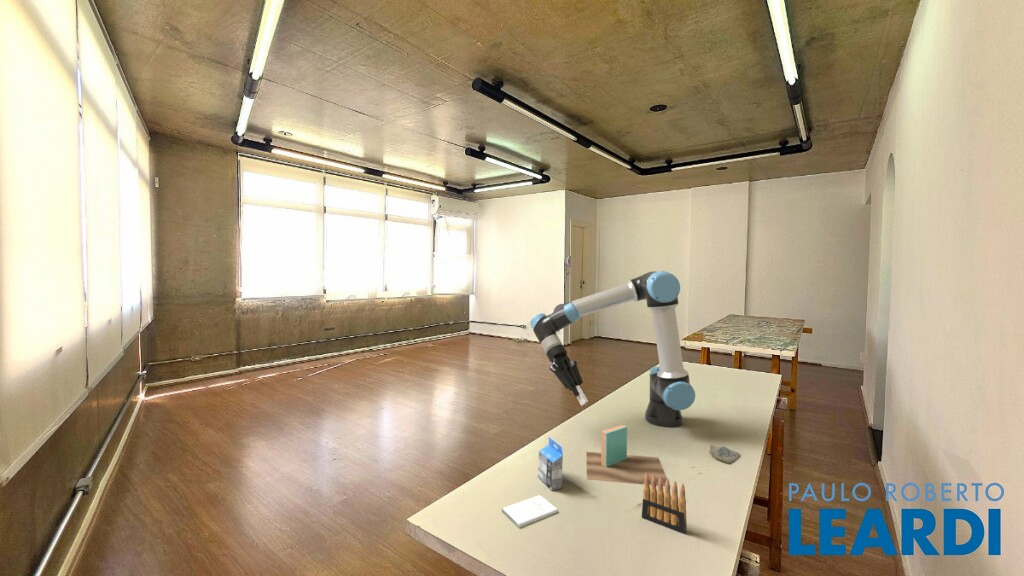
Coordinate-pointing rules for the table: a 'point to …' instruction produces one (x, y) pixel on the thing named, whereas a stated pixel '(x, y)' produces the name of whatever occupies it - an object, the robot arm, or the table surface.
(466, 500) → the table surface
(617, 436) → the tile
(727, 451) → the ceramic fragment
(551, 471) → the label tape box
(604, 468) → the board
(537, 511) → the external hard drive
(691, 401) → the robot arm
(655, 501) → the ammunition clip
